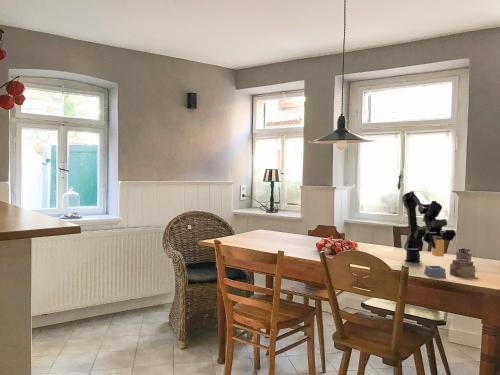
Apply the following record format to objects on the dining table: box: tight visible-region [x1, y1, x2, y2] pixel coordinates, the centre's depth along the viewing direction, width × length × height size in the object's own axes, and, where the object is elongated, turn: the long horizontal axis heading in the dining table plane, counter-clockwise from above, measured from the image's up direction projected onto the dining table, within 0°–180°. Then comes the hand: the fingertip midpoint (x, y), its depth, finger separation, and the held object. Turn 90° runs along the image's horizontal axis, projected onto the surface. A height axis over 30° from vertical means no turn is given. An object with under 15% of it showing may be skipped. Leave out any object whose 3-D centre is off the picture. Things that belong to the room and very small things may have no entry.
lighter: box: [455, 247, 473, 261], centre depth 240 cm, size 8×3×10 cm, turn 45°
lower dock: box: [424, 265, 447, 278], centre depth 216 cm, size 8×8×4 cm
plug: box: [431, 237, 445, 258], centre depth 216 cm, size 4×4×9 cm
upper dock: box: [449, 259, 476, 278], centre depth 219 cm, size 8×8×7 cm
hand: (439, 248), depth 215 cm, fingers closed on plug, 4 cm apart
